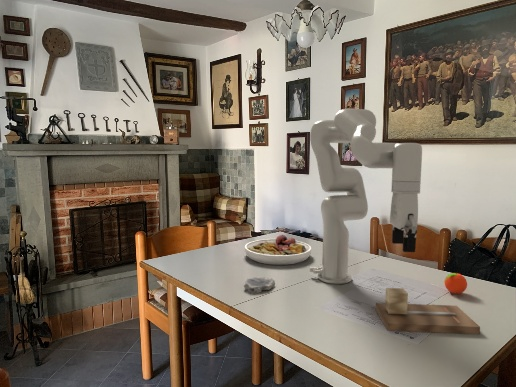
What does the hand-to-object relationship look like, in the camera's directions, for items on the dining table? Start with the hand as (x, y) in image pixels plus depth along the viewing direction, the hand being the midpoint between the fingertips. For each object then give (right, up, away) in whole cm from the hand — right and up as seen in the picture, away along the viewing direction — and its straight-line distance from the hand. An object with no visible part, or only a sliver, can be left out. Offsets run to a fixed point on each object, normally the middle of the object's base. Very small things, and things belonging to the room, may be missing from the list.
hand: (403, 247), depth 109 cm
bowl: (-32, -14, +65) cm, 74 cm away
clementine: (+26, -19, +22) cm, 39 cm away
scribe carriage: (-1, -18, +1) cm, 18 cm away
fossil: (-41, -18, +26) cm, 52 cm away
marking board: (+6, -21, +1) cm, 22 cm away
